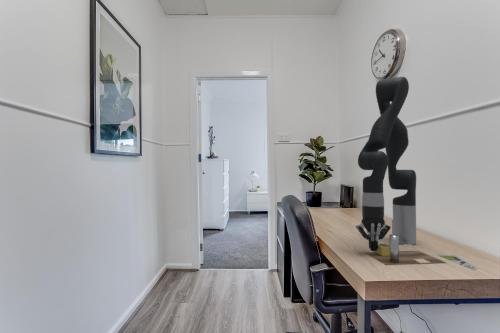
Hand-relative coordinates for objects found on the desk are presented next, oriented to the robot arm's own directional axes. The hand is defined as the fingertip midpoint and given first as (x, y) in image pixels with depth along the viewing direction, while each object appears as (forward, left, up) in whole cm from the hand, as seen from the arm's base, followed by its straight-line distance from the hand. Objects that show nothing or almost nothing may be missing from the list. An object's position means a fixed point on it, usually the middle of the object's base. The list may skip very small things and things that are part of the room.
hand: (373, 250), depth 100 cm
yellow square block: (0, +4, -1) cm, 4 cm away
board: (+4, +9, -3) cm, 10 cm away
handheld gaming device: (+6, +27, -4) cm, 28 cm away
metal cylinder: (+8, +3, -1) cm, 9 cm away
